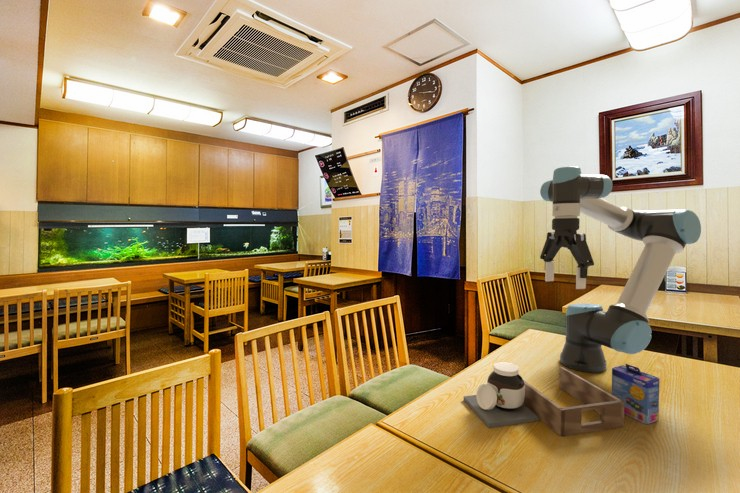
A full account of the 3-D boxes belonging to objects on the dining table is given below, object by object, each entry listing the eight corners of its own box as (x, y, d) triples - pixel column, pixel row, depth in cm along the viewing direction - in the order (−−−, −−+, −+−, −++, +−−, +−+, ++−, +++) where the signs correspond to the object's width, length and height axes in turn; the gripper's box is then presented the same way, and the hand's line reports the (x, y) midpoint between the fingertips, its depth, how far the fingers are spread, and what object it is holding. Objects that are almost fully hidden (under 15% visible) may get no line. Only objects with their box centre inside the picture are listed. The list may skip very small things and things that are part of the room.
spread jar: (527, 405, 104) (528, 367, 103) (513, 422, 95) (514, 380, 94) (488, 392, 112) (488, 356, 111) (471, 407, 103) (472, 368, 102)
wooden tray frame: (509, 393, 113) (509, 372, 113) (561, 387, 117) (562, 366, 116) (560, 436, 91) (561, 410, 90) (623, 426, 94) (624, 401, 94)
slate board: (463, 400, 110) (463, 396, 110) (507, 394, 112) (507, 391, 112) (488, 427, 95) (488, 423, 95) (538, 420, 98) (538, 416, 98)
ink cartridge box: (609, 407, 104) (610, 359, 103) (621, 403, 106) (623, 356, 105) (646, 425, 95) (648, 373, 93) (659, 420, 97) (661, 369, 96)
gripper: (529, 218, 122) (528, 278, 123) (586, 217, 97) (584, 293, 99) (548, 217, 123) (547, 277, 125) (610, 216, 99) (607, 291, 100)
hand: (564, 284), depth 112 cm, fingers open, 13 cm apart
